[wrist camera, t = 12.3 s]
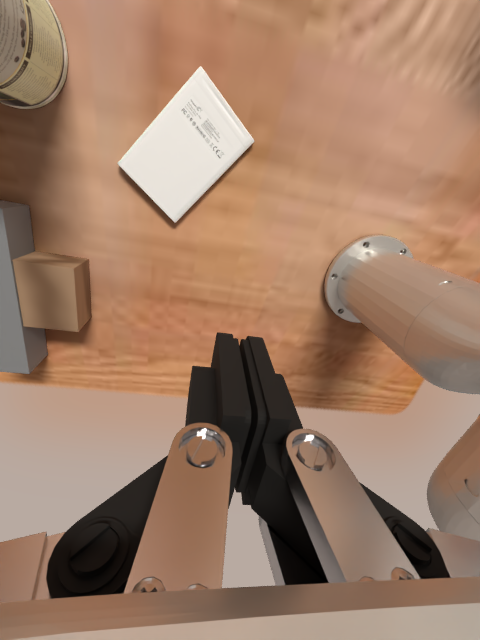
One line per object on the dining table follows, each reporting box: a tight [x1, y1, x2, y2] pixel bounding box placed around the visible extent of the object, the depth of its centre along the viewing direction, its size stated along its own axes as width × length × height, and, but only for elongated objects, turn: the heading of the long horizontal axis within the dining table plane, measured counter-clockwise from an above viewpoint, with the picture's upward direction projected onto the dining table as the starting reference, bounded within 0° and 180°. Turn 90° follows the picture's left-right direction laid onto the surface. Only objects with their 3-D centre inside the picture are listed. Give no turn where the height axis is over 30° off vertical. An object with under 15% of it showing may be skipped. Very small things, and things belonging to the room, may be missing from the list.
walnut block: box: [12, 251, 92, 332], centre depth 33 cm, size 6×8×4 cm
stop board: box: [0, 200, 48, 374], centre depth 33 cm, size 4×20×4 cm, turn 169°
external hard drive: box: [118, 66, 254, 223], centre depth 30 cm, size 2×8×12 cm
